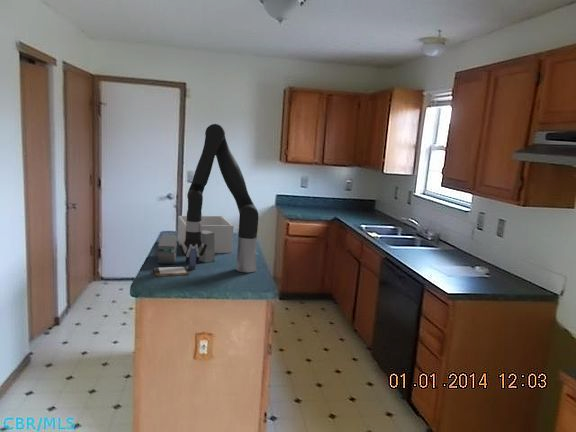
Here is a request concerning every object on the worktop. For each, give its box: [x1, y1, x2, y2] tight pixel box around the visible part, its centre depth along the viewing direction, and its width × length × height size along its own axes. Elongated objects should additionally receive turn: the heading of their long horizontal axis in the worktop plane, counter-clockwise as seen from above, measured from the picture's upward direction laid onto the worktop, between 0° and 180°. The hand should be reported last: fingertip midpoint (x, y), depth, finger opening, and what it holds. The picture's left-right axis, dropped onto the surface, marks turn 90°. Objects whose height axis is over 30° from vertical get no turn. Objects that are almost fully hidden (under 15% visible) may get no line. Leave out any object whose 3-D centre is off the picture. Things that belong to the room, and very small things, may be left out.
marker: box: [188, 246, 197, 271], centre depth 220 cm, size 4×4×12 cm
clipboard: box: [153, 266, 190, 277], centre depth 213 cm, size 15×11×2 cm
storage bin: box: [177, 215, 235, 254], centre depth 266 cm, size 27×31×16 cm
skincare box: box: [198, 230, 216, 263], centre depth 237 cm, size 8×7×16 cm
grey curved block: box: [157, 234, 178, 265], centre depth 232 cm, size 25×8×11 cm, turn 10°
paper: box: [158, 266, 186, 274], centre depth 213 cm, size 12×9×1 cm
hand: (192, 263), depth 220 cm, fingers closed on marker, 3 cm apart
